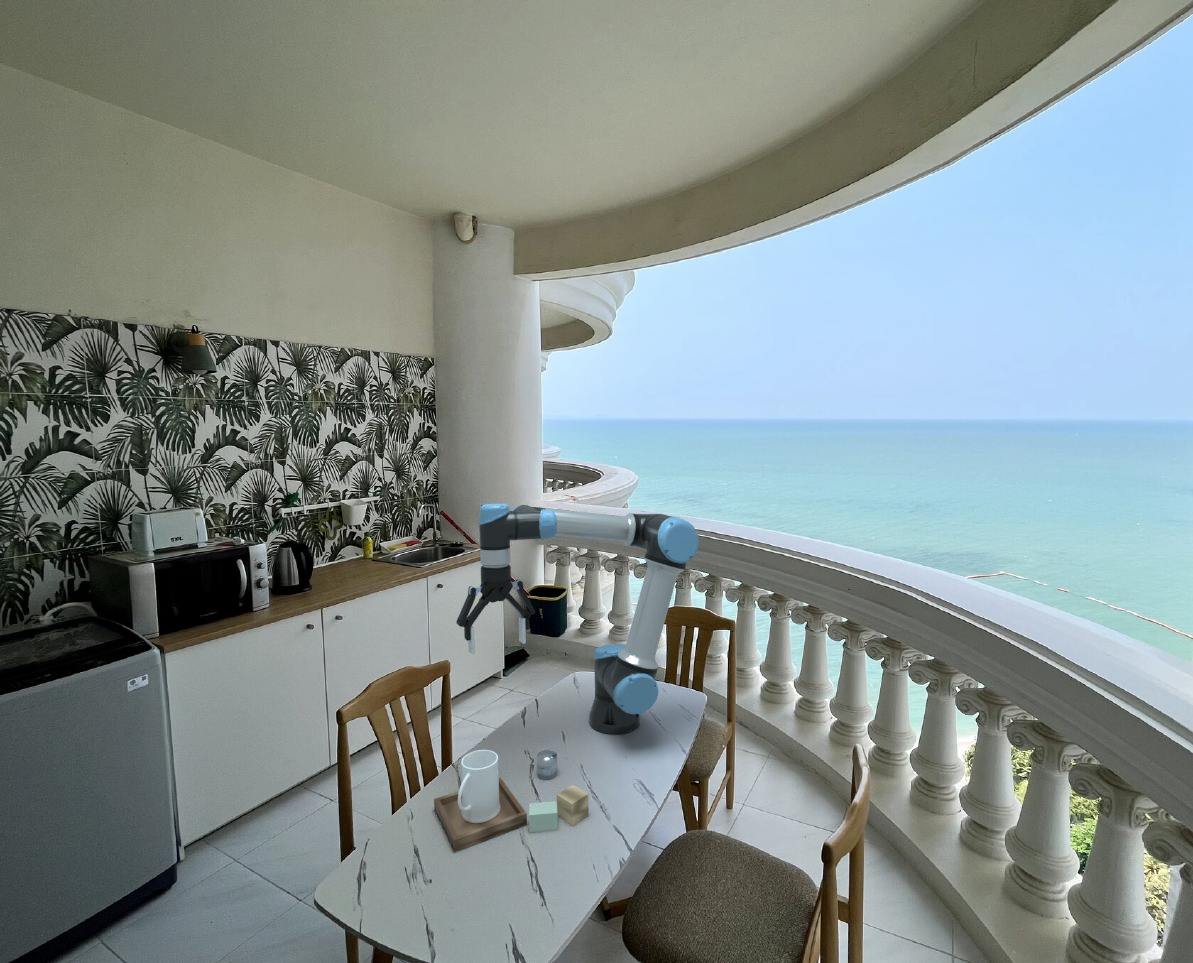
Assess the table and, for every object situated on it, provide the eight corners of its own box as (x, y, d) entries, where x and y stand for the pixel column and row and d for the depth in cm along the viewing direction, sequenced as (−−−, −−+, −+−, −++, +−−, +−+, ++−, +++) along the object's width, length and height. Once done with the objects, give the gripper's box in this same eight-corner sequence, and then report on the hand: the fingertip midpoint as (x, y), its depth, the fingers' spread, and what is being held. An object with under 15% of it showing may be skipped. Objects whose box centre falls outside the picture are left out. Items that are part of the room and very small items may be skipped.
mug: (472, 837, 116) (470, 781, 115) (442, 824, 120) (440, 770, 120) (508, 806, 126) (507, 754, 126) (479, 795, 131) (478, 745, 130)
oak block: (573, 805, 128) (572, 784, 128) (588, 815, 124) (588, 793, 124) (557, 816, 124) (556, 794, 124) (572, 826, 121) (572, 804, 121)
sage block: (556, 818, 124) (556, 801, 123) (557, 830, 120) (557, 812, 119) (529, 821, 123) (529, 803, 123) (529, 833, 119) (529, 815, 119)
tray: (500, 787, 135) (500, 777, 135) (527, 824, 121) (526, 813, 121) (434, 809, 127) (434, 799, 127) (454, 852, 113) (454, 840, 113)
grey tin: (551, 766, 144) (551, 748, 144) (560, 776, 140) (560, 757, 139) (534, 772, 141) (533, 753, 141) (542, 782, 137) (542, 762, 137)
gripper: (534, 557, 150) (536, 634, 152) (442, 568, 138) (444, 652, 139) (546, 561, 144) (548, 642, 145) (450, 573, 131) (453, 661, 132)
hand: (497, 647), depth 142 cm, fingers open, 13 cm apart
